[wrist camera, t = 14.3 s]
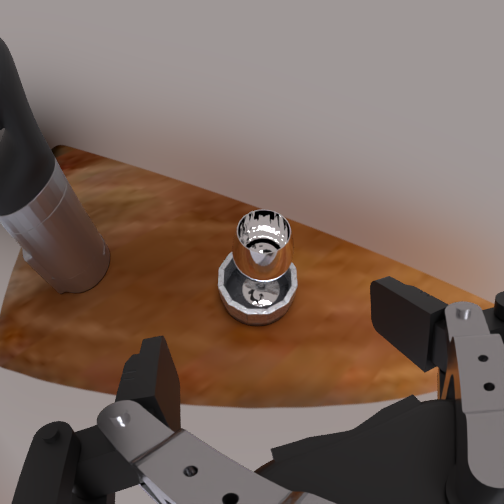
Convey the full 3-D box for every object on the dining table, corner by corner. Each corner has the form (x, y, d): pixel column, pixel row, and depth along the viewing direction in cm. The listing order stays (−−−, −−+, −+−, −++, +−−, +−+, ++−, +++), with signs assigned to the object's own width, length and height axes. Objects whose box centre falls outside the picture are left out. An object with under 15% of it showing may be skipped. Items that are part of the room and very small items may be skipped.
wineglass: (262, 259, 40) (265, 194, 30) (295, 290, 38) (311, 232, 28) (226, 288, 38) (216, 228, 28) (259, 322, 36) (262, 272, 26)
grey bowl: (243, 339, 36) (242, 328, 32) (209, 280, 40) (205, 264, 36) (306, 304, 38) (311, 290, 35) (269, 250, 42) (270, 233, 38)
